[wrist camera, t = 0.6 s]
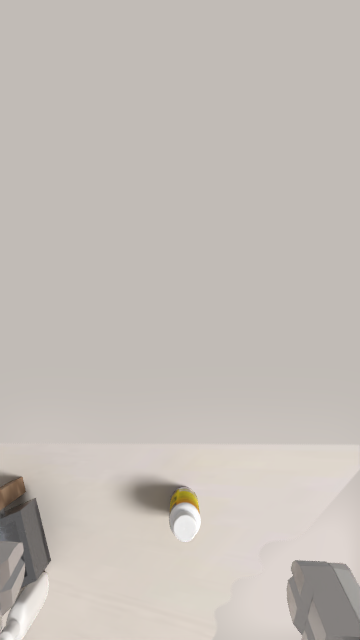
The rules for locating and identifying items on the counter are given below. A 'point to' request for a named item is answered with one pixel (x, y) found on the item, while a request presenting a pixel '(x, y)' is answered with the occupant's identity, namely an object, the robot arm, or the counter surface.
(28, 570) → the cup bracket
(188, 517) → the supplement bottle
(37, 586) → the eye dropper bottle
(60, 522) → the counter surface
